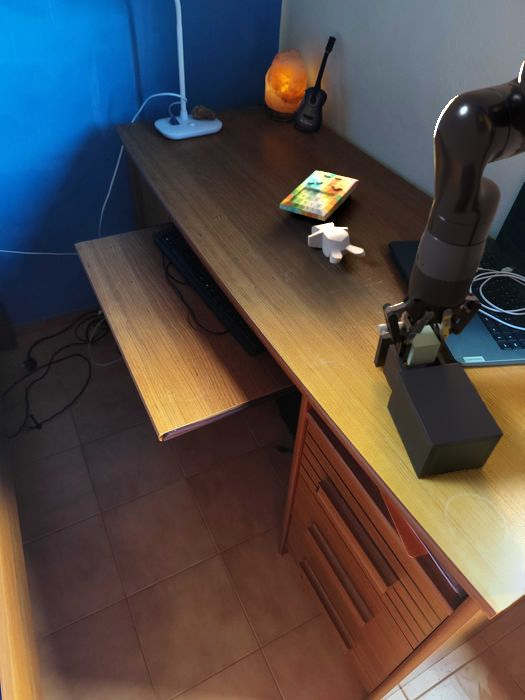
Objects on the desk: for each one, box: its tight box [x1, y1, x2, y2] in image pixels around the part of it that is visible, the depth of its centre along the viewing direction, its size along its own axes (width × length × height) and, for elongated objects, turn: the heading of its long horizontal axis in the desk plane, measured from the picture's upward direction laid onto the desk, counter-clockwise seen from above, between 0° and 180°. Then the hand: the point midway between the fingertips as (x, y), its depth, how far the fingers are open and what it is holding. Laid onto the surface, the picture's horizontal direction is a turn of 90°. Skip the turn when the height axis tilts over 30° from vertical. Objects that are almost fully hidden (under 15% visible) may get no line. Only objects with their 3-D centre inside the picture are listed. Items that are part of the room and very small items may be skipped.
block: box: [406, 324, 441, 366], centre depth 70 cm, size 4×4×4 cm
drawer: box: [373, 321, 447, 391], centre depth 74 cm, size 16×8×7 cm, turn 9°
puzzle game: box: [279, 170, 360, 222], centre depth 115 cm, size 12×5×20 cm
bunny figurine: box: [307, 222, 366, 264], centre depth 101 cm, size 10×5×15 cm
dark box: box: [386, 362, 504, 479], centre depth 66 cm, size 13×10×9 cm
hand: (416, 353), depth 71 cm, fingers closed on block, 4 cm apart
